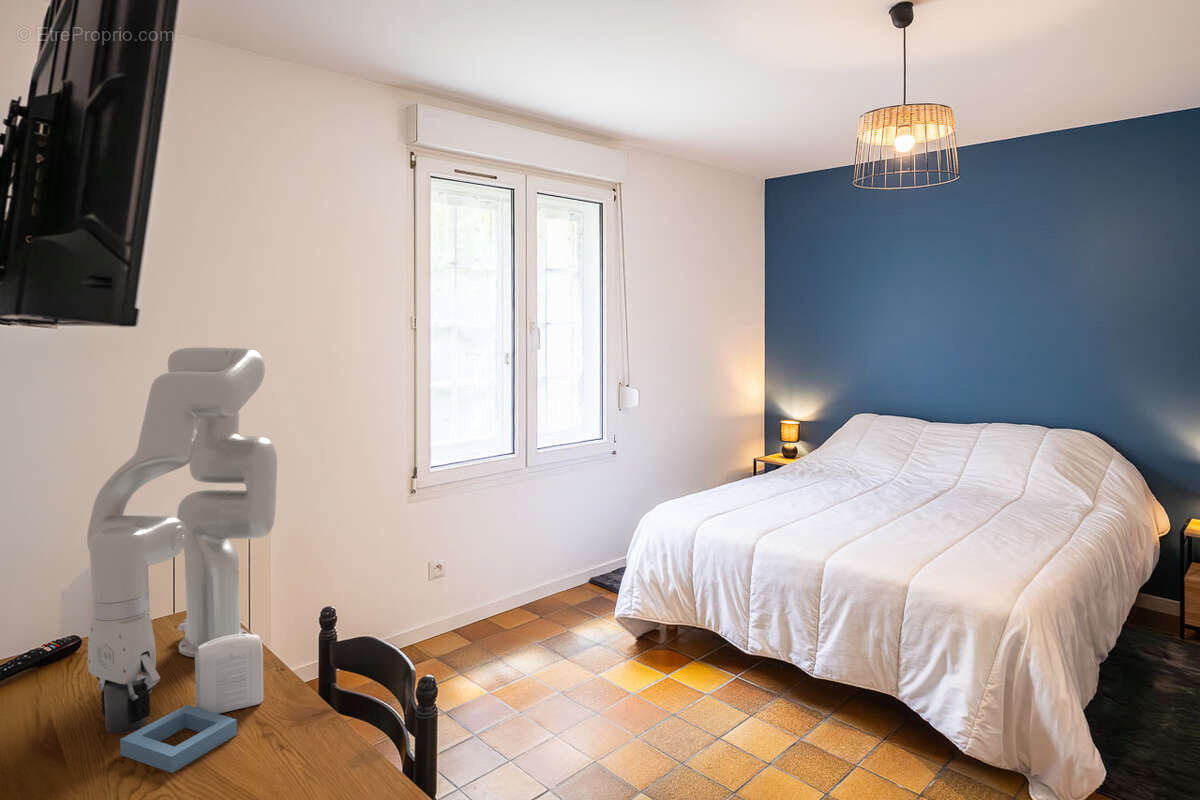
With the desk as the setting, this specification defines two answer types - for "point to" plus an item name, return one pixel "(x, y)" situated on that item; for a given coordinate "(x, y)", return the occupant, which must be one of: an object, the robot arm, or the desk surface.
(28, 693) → the desk surface
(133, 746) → the collar
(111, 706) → the dark grey cylinder
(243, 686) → the photo printer
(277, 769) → the desk surface
